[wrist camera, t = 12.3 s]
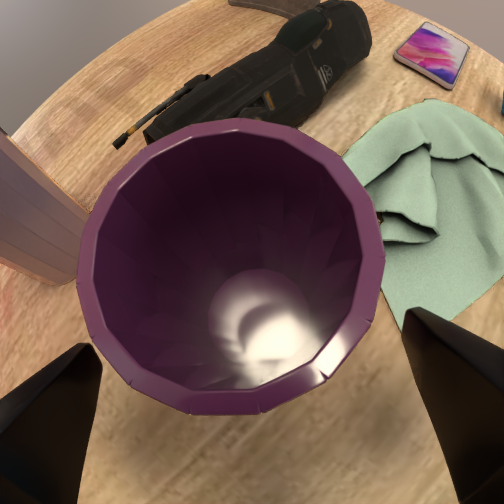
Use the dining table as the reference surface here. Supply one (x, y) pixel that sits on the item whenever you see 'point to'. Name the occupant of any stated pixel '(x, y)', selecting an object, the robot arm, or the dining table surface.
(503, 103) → the ornament
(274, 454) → the dining table surface
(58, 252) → the lavender cup
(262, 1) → the flask
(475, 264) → the cloth
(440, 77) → the smartphone
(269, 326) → the plum cup
